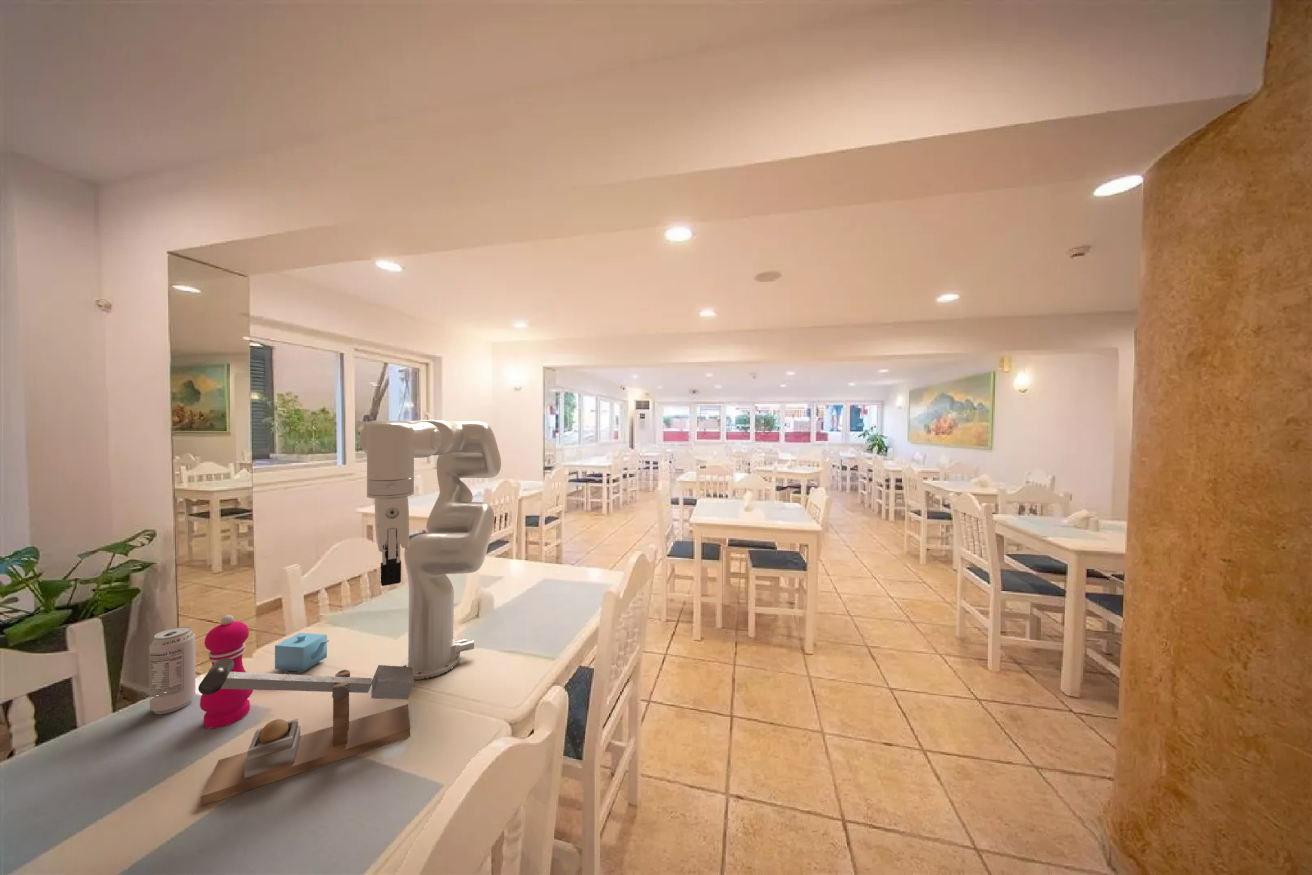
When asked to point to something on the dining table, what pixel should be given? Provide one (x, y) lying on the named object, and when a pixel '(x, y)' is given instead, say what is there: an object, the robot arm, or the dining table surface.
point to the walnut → (273, 731)
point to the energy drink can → (172, 670)
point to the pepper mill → (230, 644)
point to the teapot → (300, 652)
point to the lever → (310, 681)
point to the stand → (306, 747)
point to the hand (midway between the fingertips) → (390, 582)
